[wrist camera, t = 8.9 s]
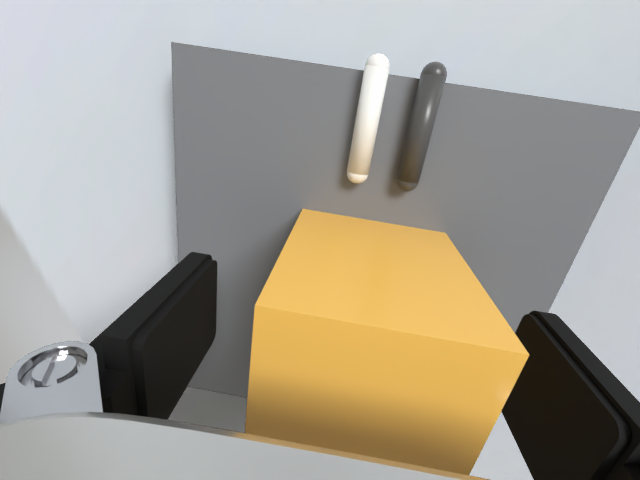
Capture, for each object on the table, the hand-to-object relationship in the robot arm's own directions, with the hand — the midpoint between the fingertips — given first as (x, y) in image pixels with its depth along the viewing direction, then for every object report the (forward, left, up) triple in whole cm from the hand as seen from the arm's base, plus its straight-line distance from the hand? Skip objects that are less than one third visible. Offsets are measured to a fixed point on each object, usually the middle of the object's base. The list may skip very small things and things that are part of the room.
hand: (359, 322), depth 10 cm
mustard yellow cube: (0, 0, -2) cm, 2 cm away
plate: (0, 0, -4) cm, 4 cm away
